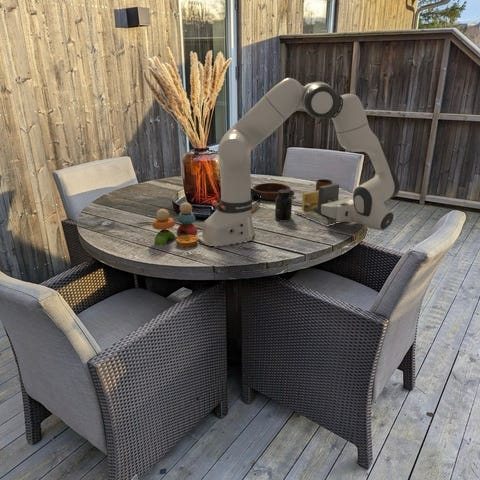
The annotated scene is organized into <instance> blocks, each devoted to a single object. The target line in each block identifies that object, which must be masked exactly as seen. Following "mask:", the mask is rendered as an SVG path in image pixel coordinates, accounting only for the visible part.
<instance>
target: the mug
mask: <svg viewBox="0 0 480 480" xmlns="http://www.w3.org/2000/svg"><path fill="white" fill-rule="evenodd" d="M315 182H316V183H315V191H317V190H319V187H320V186H325V185H330V184H333V180H331V179H328V178H327V179H325V178H323V179H317V180H316V181H315Z"/></svg>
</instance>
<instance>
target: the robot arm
mask: <svg viewBox="0 0 480 480" xmlns="http://www.w3.org/2000/svg"><path fill="white" fill-rule="evenodd" d="M360 99H361V98H359V96H358V95H357V94H354V93H345V94H342V95H341V94H339V93H338V92H337V91H336V90H335V89H334V88H333V87H332V86H331V85H330V84H329V83H326V82H324V81H319V80H318V81H317V80H316V81H311V82H308V83H305V84H301V83H300V82H299V81H298V80H296V79H295V78H292V77H287V78H284V79H283V80H281V81H280V82H278V83H277V84H276V85H274V86H273V87H272V88H271V89H270V90H269V91H268V92H267V93H265V94H264V95H263V96H262V97H261V98H260V99H259V101H257V102H256V103H255V104H254V105H253V106H252V107H251V108H250V109H249V110H248V111H247V112H246V113H245V114H244V115H243V116H242V117H241V118H239V120H238V121H236V122H235V123H234V124H233V125H232V126H231V128H230V129H229V128H228V130H227V131H226V133H225V134H224V135H223V136H222V138H221V139H220V140H219V141H220V142H219V143H218V146H217V147H218V148H217V151H218V152H217V155H218V167H219V174H220V175H219V176H220V199H219V202H218V201H216V200H212V202H211V205H212V206H214V207H216V208H217V209H216V210H215V211H214V212H213V213H212V214H211V215H209V217H208V218H206V219H205V220H204V221H203V225H202V232H199V233H198V232H197V234H196V236H197V237H198V242H200V243H201V242H202V243H201V244H203V243H204V244H203V245H205V244H206V245H205V246H207V245H209V246H208V247H210V246H215V247H214V248H217V247H216V246H221V247H224V246H223V245H227V246H230V245H229V244H233V245H236V244H235V243H239V244H241V243H240V242H245V241H250V240H252V241H253V238H254V237H255V235H256V231H255V228H254V225H253V218H252V217H253V216H252V209H253V198H252V196H251V191H252V189H251V188H252V185H251V184H252V182H251V181H252V179H251V178H252V177H251V152H252V151H253V150H254V149H255V148H256V147H257V146H259V144H261V143H262V142H263V141H265V140H266V139H267V138H268V137H269V136H271V135H272V134H273V133H274V132H275V131H276V130H278V128H279V127H280V126H281V125H283V123H284V122H286V121H287V119H288V118H289V117H291V115H292V114H293V113H295V112H297V111H298V110H302V109H303V110H305V112H306V113H307V114H308V115H309V116H311V117H312V118H314V119H331V120H332V123H333V124H334V126H333V127H334V129H335V133H336V138H337V140H338V144H339V145H340V147H341V148H343V149H344V150H346V151H348V152H351V153H352V152H353V153H356V152H357V153H358V152H359V153H360V152H363V153H366V154H367V155H368V157H369V159H370V162H371V164H372V166H373V168H374V171H375V174H374V176H373V178H370V179H369V180H367V181H364V182H363V183H362V184H360V185H358V186H357V187H356V188H355V189H354V191H353V195H352V197H348V198H344V199H338V200H335V199H332V200H328V203H326V204H322V205H321V213H322V214H323V215H325V216H328V217H330V218H334V219H336V221H338V222H343V223H346V221H347V222H349V223H353V222H354V223H356V224H361V225H363V226H364V227H366V228H370V229H372V230H377V231H384V230H386V229H387V228H388V227H390V226H391V224H392V222H393V221H394V216H395V215H394V213H393V211H391V210H389V208H387V206H386V205H385V202H386V201H388V200H390V199H393V198H394V197H396V196H397V195H398V194H399V192H400V186H401V185H400V181H399V179H398V177H397V175H396V174H395V172H394V170H393V168H392V166H391V163H390V161H389V158H388V155H387V153H386V150H385V148H384V145H383V143H382V141H381V138H380V137H379V135H377V133H374V132H373V131H372V130H371V128H370V124H369V121H368V117H367V114H366V111H365V109H364V106H363V103H362V101H361V100H360ZM253 236H254V237H253ZM252 237H253V238H252ZM245 243H246V242H245Z"/></svg>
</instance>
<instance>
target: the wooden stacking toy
mask: <svg viewBox="0 0 480 480" xmlns="http://www.w3.org/2000/svg"><path fill="white" fill-rule="evenodd" d="M192 211H193V206H192V204H191V203H189V202H183V203H181V205H180V206H179V214H178V217H177V221H178V222H179V223H180V225H178V227H177V230H176V233H177V234H180V233H182V232H186V233H185V234H183V235H180V236H177V238H176V235H175V233H174V232H173V231H170V230H169V229H172V228H173V227H175V226H176V222H175V220H174V219H173V218H172V217H170V213H169V211H168V209H165V208H160V209H158V210H157V211H156V213H155V217H156V218H155V219H154V220H153V222H152V228H153V229H155V230H159V231H158V232H157V234H156V235H155V237H154V243H155V244H156V243H157V245H159V244H162V245H161V246H165V244H166V245H167V243H168V241H169V239H171V240H173V239H175V241H176V243H177V245H179V246H178V247H180V246H183V247H182V248H184V247H189V248H191V247H190V246H193V247H195V246H197V245H196V244H198V242H199V240H198V237H197V234H198V228H197V227H196V226H195V224H194V222H195V221H196V217H195V214H194V213H193V212H192ZM196 233H197V234H196ZM194 234H196V235H194ZM194 245H195V246H194Z"/></svg>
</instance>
